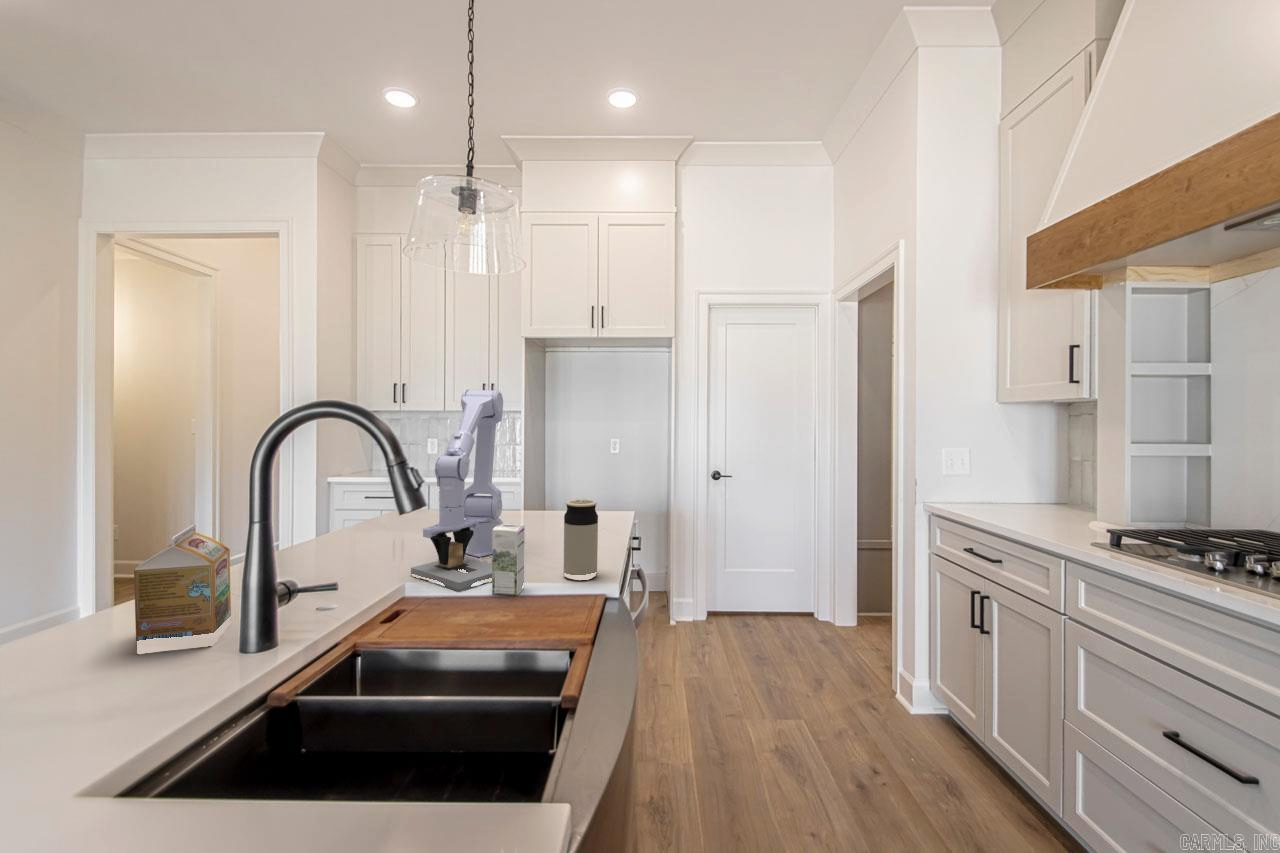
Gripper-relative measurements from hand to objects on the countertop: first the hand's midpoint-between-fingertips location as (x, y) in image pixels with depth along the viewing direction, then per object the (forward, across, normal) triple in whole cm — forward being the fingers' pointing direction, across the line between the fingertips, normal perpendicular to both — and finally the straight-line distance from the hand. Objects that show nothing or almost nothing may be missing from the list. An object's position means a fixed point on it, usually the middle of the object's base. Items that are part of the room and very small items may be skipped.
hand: (452, 562), depth 144 cm
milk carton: (+3, +52, -5) cm, 52 cm away
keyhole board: (+3, 0, +3) cm, 4 cm away
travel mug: (+3, -18, +25) cm, 31 cm away
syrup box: (+3, 0, +20) cm, 20 cm away
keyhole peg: (+2, 0, 0) cm, 2 cm away
